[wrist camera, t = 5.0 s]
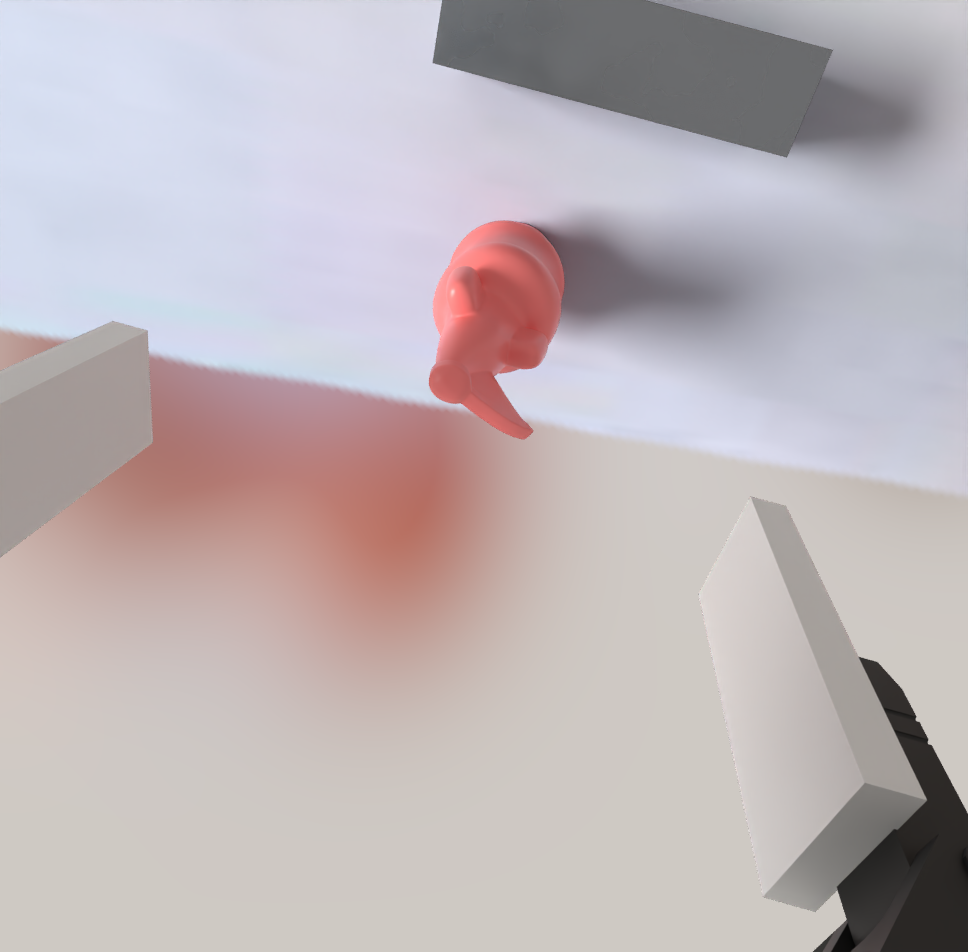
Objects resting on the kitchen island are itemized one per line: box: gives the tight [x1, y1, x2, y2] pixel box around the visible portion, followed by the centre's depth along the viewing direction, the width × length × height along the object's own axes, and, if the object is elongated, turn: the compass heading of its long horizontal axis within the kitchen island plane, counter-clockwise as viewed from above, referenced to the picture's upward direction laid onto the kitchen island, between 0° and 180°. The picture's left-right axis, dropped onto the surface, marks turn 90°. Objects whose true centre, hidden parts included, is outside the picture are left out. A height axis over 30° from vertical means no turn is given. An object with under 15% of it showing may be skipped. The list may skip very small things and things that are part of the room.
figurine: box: [429, 221, 565, 439], centre depth 23 cm, size 5×5×15 cm
